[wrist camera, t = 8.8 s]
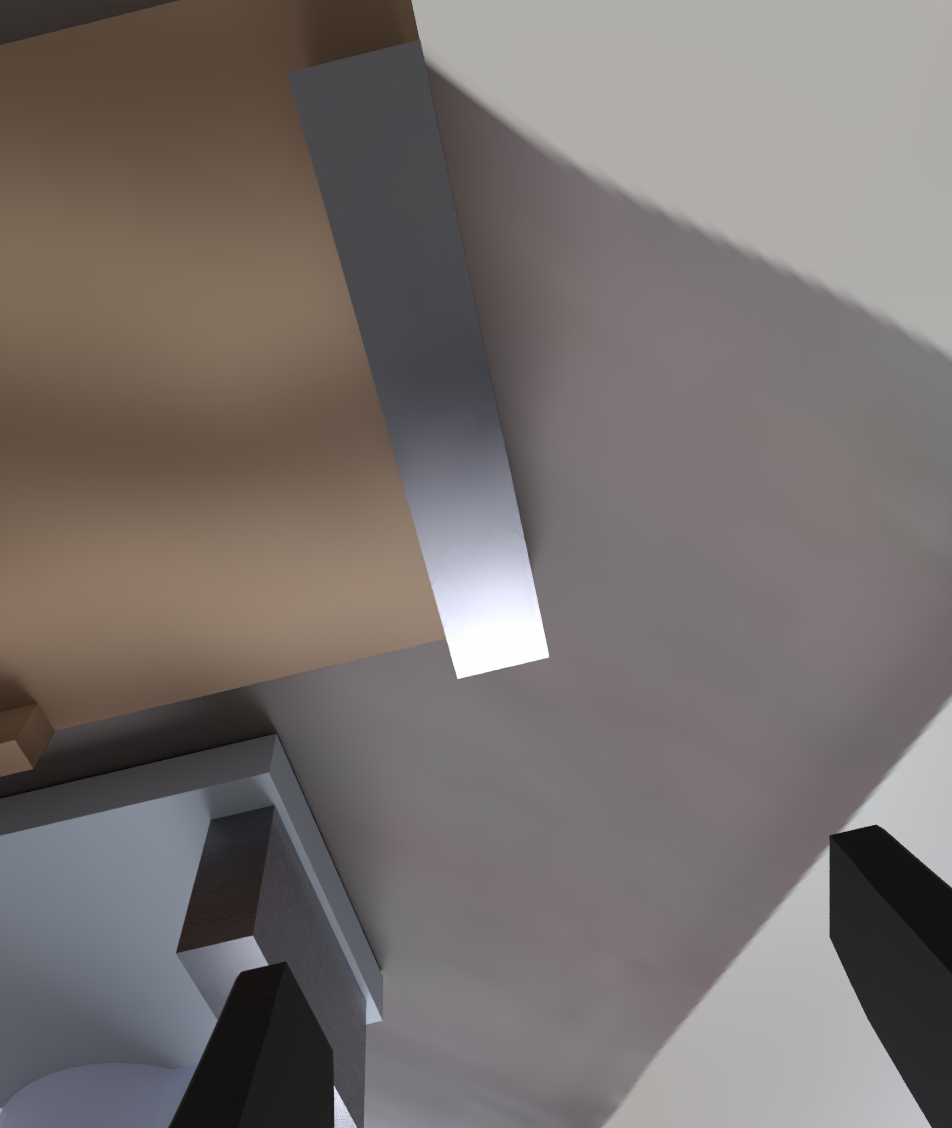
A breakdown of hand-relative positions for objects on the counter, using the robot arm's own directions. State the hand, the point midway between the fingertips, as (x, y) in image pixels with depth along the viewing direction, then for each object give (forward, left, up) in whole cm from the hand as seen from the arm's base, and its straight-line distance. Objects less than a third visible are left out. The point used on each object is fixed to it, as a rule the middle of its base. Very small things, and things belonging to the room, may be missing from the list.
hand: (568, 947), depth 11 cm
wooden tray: (+6, +10, -9) cm, 15 cm away
